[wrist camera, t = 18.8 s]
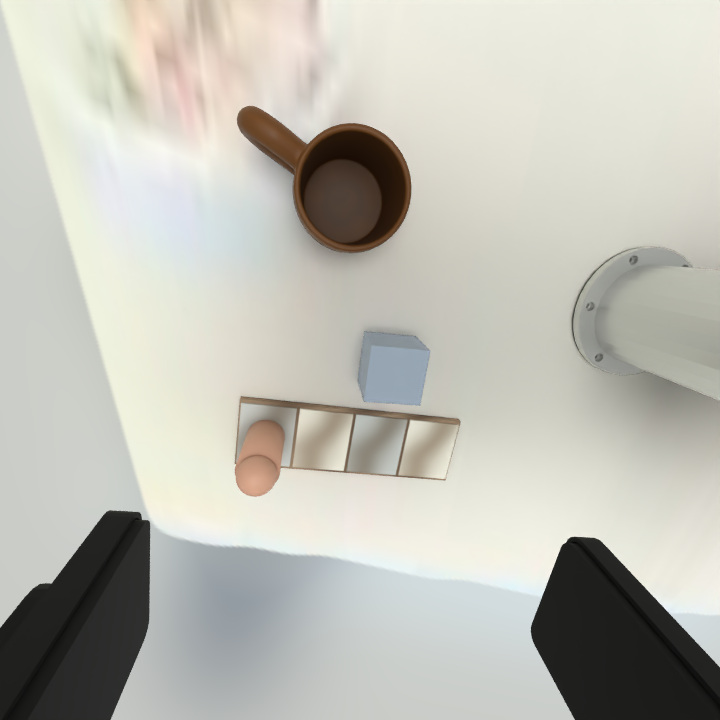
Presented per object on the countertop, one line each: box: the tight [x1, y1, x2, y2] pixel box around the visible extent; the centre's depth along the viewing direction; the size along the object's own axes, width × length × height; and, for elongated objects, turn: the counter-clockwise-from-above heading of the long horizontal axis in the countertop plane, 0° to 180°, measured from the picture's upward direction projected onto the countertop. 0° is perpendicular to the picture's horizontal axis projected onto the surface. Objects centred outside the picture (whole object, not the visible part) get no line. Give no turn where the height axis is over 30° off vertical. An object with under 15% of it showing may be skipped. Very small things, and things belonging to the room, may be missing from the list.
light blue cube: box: [358, 331, 430, 406], centre depth 35 cm, size 5×5×5 cm
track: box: [235, 397, 460, 480], centre depth 39 cm, size 22×7×1 cm, turn 81°
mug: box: [237, 106, 411, 253], centre depth 28 cm, size 12×8×9 cm, turn 57°
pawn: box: [235, 420, 285, 496], centre depth 33 cm, size 4×4×8 cm
